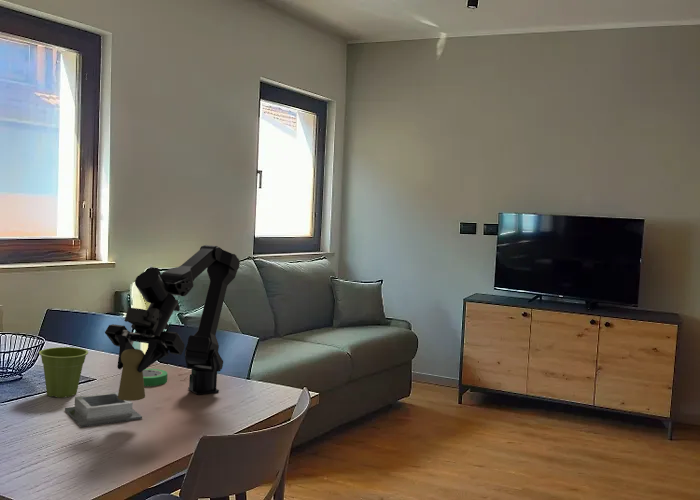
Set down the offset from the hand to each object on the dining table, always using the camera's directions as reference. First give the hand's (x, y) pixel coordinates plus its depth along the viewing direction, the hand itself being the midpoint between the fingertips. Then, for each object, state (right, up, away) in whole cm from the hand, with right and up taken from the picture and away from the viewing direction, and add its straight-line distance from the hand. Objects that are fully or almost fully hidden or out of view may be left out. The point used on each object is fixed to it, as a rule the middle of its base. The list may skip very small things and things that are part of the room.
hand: (128, 370), depth 158 cm
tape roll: (-8, -11, +40) cm, 43 cm away
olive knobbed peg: (0, -7, +2) cm, 7 cm away
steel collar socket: (-9, -12, +9) cm, 17 cm away
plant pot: (-24, -11, +23) cm, 35 cm away
